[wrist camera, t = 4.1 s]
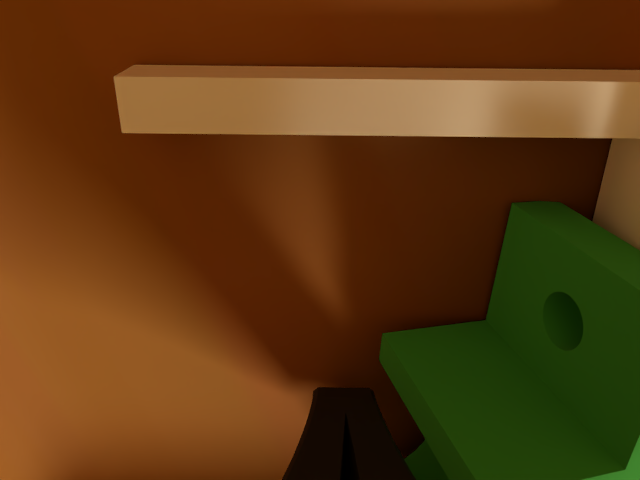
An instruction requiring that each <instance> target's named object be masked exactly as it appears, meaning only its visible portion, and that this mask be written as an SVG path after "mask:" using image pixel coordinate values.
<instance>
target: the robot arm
mask: <svg viewBox="0 0 640 480" xmlns="http://www.w3.org/2000/svg"><path fill="white" fill-rule="evenodd" d="M282 480H416V478H415V477H414V475H413V474H412V472H411V470H410V469H409V467H408V465H407V463H406V462H405V460H404V458H403V456H402V454H401V453H400V451H399V449H398V447H397V445H396V443H395V442H394V440H393V438H392V436H391V434H390V432H389V430H388V427H387V425H386V423H385V421H384V419H383V416H382V414H381V412H380V409H379V407H378V404H377V401H376V398H375V395H374V392H373V391H372V390H371V389H370V388H328V387H318V388H317V389H316V390H314V391H313V399H312V404H311V409H310V412H309V416H308V419H307V422H306V425H305V428H304V431H303V433H302V436H301V438H300V441H299V443H298V446H297V448H296V451H295V453H294V456H293V458H292V460H291V462H290V464H289V466H288V468H287V470H286V472H285V474H284V476H283V479H282Z"/></svg>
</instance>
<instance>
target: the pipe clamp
mask: <svg viewBox="0 0 640 480" xmlns="http://www.w3.org/2000/svg"><path fill="white" fill-rule="evenodd" d="M379 361H380V363H381V365H382V366H383V368H384V370H385V371H386V373H387V375H388V377H389V378H390V380H391V382H392V383H393V385H394V387H395V388H396V390H397V392H398V394H399V395H400V397H401V399H402V400H403V402H404V404H405V405H406V407H407V409H408V411H409V412H410V414H411V416H412V417H413V419H414V421H415V422H416V424H417V426H418V428H419V429H420V431H421V433H422V434H423V436H424V438H425V440H424V442H423V443H422V444H421V445H420V446H419V447H418V448H417V449H416V450H415V451H414V452H413V453H411V454H410V455H409V456H407V457H406V458H405V459H404V460H405V462H406V463H407V465H408V467H409V469H410V470H411V472H412V474H413V475H414V477H415V478H416V480H640V250H638V249H637V248H635V247H633V246H632V245H630V244H628V243H627V242H625V241H624V240H622V239H620V238H619V237H617V236H615V235H614V234H612V233H610V232H609V231H607V230H605V229H604V228H602V227H600V226H599V225H597V224H595V223H594V222H592V221H591V220H589V219H587V218H586V217H584V216H582V215H581V214H579V213H577V212H576V211H574V210H572V209H571V208H569V207H567V206H566V205H564V204H562V203H561V202H548V201H533V202H518V203H512V205H511V209H510V214H509V218H508V223H507V227H506V232H505V236H504V241H503V245H502V249H501V254H500V258H499V263H498V267H497V272H496V276H495V281H494V285H493V289H492V294H491V298H490V303H489V307H488V312H487V316H486V320H482V321H475V322H467V323H459V324H451V325H443V326H435V327H428V328H420V329H412V330H404V331H396V332H389V333H382V340H381V348H380V355H379Z"/></svg>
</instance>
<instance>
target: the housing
mask: <svg viewBox="0 0 640 480" xmlns="http://www.w3.org/2000/svg"><path fill="white" fill-rule="evenodd" d="M114 84H115V91H116V97H117V104H118V111H119V117H120V124H121V131H122V133H162V134H257V135H352V136H447V137H542V138H612V142H611V146H610V151H609V155H608V159H607V163H606V167H605V171H604V175H603V179H602V183H601V188H600V192H599V196H598V200H597V204H596V208H595V212H594V216H593V220H592V222H594V223H595V224H597V225H599V226H600V227H602V228H604V229H605V230H607V231H609V232H610V233H612V234H614V235H615V236H617V237H619V238H620V239H622V240H624V241H625V242H627V243H628V244H630V245H632V246H633V247H635V248H637V249H638V250H640V70H590V69H494V68H398V67H302V66H205V65H133V66H131V67H129V68H127V69H126V70H124V71H122V72H121V73H119V74H117V75H115V76H114Z"/></svg>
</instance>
